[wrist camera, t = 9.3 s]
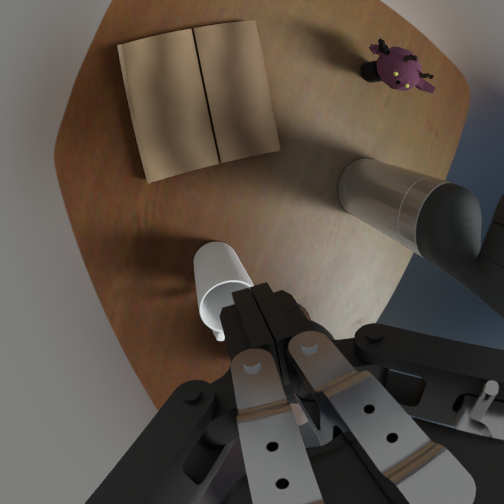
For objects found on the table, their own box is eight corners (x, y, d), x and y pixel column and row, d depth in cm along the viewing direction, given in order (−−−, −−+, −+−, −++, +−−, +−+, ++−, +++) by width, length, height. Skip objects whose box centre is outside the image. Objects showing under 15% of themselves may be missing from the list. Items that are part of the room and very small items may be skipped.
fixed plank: (251, 24, 31) (255, 20, 30) (276, 149, 39) (280, 150, 37) (192, 32, 30) (193, 28, 28) (219, 161, 38) (221, 163, 36)
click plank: (189, 32, 30) (191, 27, 28) (216, 162, 38) (219, 163, 36) (119, 49, 28) (117, 45, 26) (148, 181, 36) (147, 183, 34)
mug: (195, 236, 41) (204, 276, 30) (243, 242, 43) (267, 283, 32) (185, 299, 44) (191, 352, 34) (228, 303, 46) (246, 354, 36)
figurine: (341, 49, 35) (392, 33, 24) (382, 46, 36) (435, 35, 25) (356, 100, 39) (410, 98, 28) (394, 93, 39) (450, 93, 29)
